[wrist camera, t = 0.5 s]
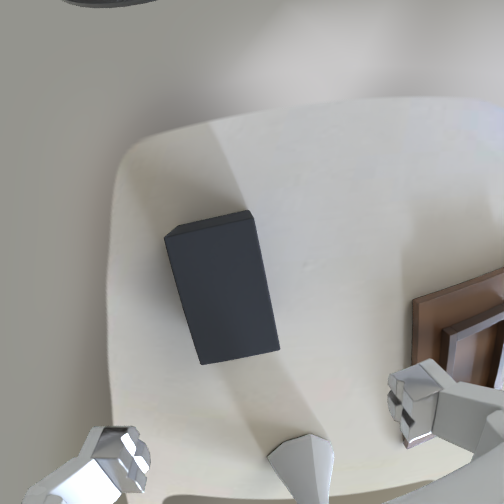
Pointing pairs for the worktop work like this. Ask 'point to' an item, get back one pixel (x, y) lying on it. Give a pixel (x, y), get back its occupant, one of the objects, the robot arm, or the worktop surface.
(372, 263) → the worktop surface
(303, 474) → the flask
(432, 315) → the back plate
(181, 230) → the dark gray block
